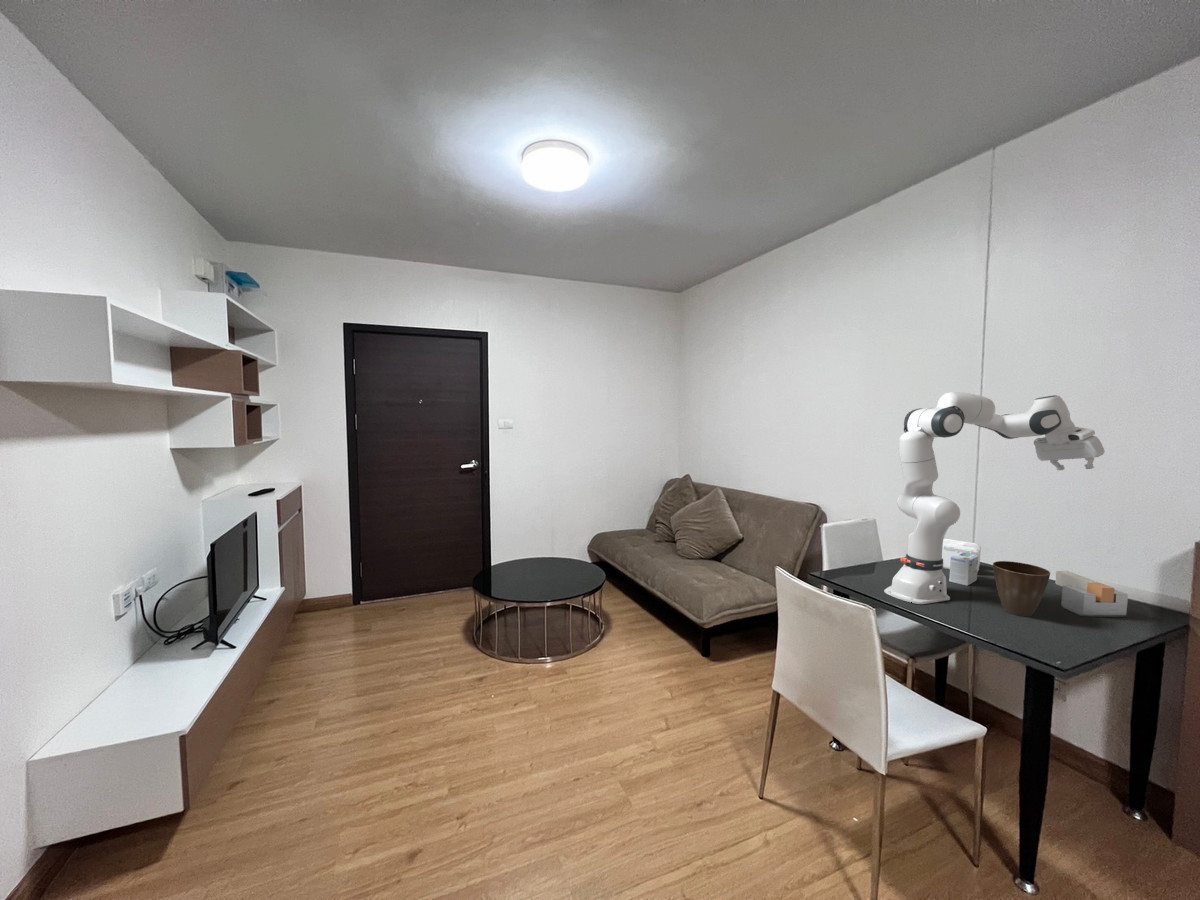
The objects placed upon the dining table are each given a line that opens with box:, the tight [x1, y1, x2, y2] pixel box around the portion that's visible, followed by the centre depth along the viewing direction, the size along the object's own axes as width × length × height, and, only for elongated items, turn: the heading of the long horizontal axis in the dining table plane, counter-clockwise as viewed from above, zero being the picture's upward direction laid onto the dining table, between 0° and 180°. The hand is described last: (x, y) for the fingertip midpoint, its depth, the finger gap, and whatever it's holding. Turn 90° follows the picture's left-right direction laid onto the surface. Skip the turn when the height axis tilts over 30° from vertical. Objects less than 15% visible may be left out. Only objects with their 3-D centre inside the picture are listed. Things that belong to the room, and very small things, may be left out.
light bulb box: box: [948, 552, 978, 586], centre depth 194 cm, size 11×7×11 cm, turn 126°
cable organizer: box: [942, 538, 982, 573], centre depth 208 cm, size 15×11×12 cm
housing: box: [1060, 585, 1129, 618], centre depth 164 cm, size 8×14×8 cm, turn 87°
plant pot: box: [992, 560, 1051, 617], centre depth 164 cm, size 15×15×16 cm
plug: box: [1055, 570, 1116, 602], centre depth 167 cm, size 17×4×5 cm, turn 177°
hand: (1075, 469), depth 178 cm, fingers open, 8 cm apart
